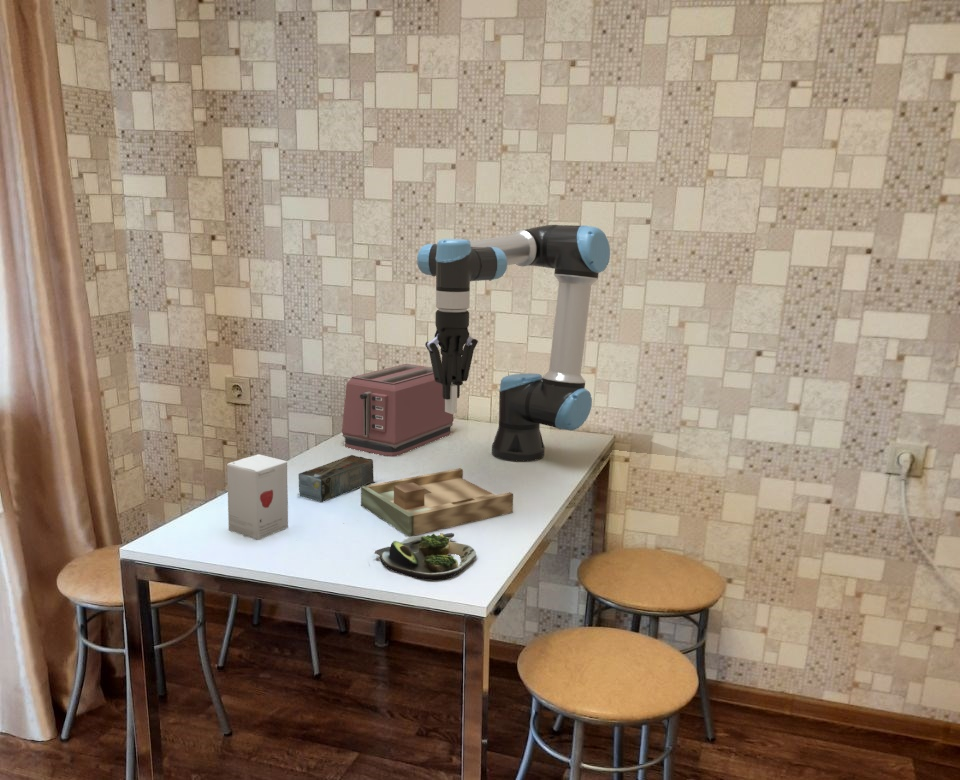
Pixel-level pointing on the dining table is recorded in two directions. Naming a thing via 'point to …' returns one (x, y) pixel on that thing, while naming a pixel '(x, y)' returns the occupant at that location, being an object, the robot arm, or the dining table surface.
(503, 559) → the dining table surface
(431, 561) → the salad plate
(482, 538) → the dining table surface
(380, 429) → the toaster
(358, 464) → the beverage carton
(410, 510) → the box
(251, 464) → the supplement box
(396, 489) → the block
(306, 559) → the dining table surface
